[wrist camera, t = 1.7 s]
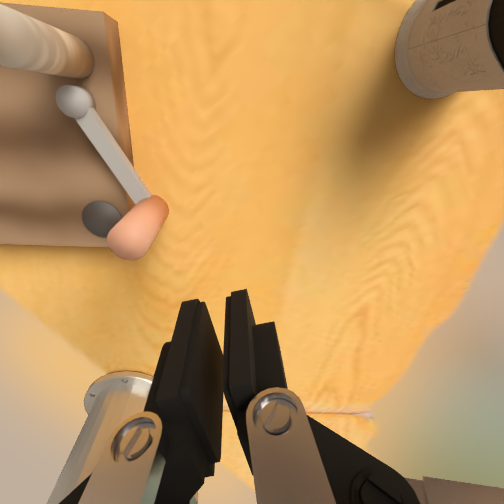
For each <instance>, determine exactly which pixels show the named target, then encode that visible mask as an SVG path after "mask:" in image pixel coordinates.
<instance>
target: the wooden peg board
mask: <svg viewBox="0 0 504 504" xmlns="http://www.w3.org/2000/svg"><path fill="white" fill-rule="evenodd" d="M64 85H73V86H81V87H84V88H86V89H87V90H88V91H89V92H90V93H91V94H92V95H93V97H94V99H95V103H96V107H95V111H96V112H97V114H98V115H99V117H100V118H101V120H102V121H103V123H104V124H105V126H106V127H107V129H108V130H109V131H110V133H111V134H112V136H113V137H114V139H115V140H116V142H117V143H118V145H119V146H120V148H121V149H122V151H123V152H124V154H125V155H126V157H127V158H128V160H129V161H130V163H131V164H132V166H133V167H134V164H133V155H132V146H131V137H130V128H129V119H128V110H127V101H126V92H125V83H124V74H123V65H122V56H121V47H120V38H119V29H118V22H117V21H115V20H114V19H113V18H111V17H110V16H108V15H107V14H106V13H104V12H100V11H89V10H77V9H66V8H54V7H43V6H31V5H20V4H9V3H0V244H16V245H48V246H79V247H109V246H108V243H107V236H108V233H109V231H110V230H111V229H112V228H113V227H114V226H115V225H116V224H117V223H118V222H119V221H120V220H121V219H122V218H123V217H124V216H125V215H126V214H127V213H128V212H129V211H130V210H131V209H132V208H133V207H134V206H135V205H136V204H135V203H134V202H133V200H132V199H131V197H130V196H129V195H128V193H127V192H126V190H125V189H124V187H123V186H122V185H121V183H120V182H119V180H118V179H117V178H116V176H115V175H114V173H113V172H112V171H111V169H110V168H109V166H108V165H107V163H106V162H105V161H104V159H103V158H102V156H101V155H100V154H99V152H98V151H97V149H96V148H95V147H94V145H93V144H92V142H91V141H90V140H89V138H88V137H87V135H86V134H85V132H84V131H83V130H82V128H81V127H80V125H79V124H78V123H77V121H76V120H75V118H72V117H69V116H67V115H65V114H64V113H63V112H62V111H61V110H60V109H59V107H58V105H57V103H56V92H57V90H58V89H59V88H60V87H61V86H64Z"/></svg>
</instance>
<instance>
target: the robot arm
mask: <svg viewBox="0 0 504 504" xmlns="http://www.w3.org/2000/svg"><path fill="white" fill-rule="evenodd" d="M223 391H224V395H225V398H226V401H227V404H228V406H229V409H230V412H231V415H232V417H233V420H234V423H235V426H236V428H237V435H238V437H239V440H240V443H241V445H242V448H243V451H244V454H245V456H246V459H247V462H248V465H249V467H250V470H251V473H252V475H253V476H254V484H255V491H256V499H257V504H504V488H498V487H491V486H485V485H478V484H471V483H465V482H457V481H451V480H444V479H438V478H431V477H424V476H423V479H422V480H416V479H409V478H404V477H403V476H401V475H400V474H399V473H398V472H396V471H395V470H394V469H392V468H391V467H389V466H388V465H386V464H384V463H383V462H381V461H380V460H378V459H376V458H375V457H373V456H372V455H370V454H368V453H367V452H365V451H364V450H362V449H361V448H359V447H357V446H356V445H354V444H353V443H351V442H349V441H348V440H346V439H345V438H343V437H341V436H340V435H338V434H337V433H335V432H333V431H332V430H330V429H329V428H327V427H325V426H324V425H322V424H321V423H319V422H317V421H316V420H314V419H313V418H311V417H309V416H308V415H306V412H305V409H304V406H303V404H302V402H301V400H300V398H299V397H298V396H297V395H296V394H295V393H294V392H292V391H290V390H288V389H287V383H286V378H285V372H284V367H283V362H282V356H281V351H280V346H279V342H278V337H277V332H276V328H275V323H274V322H269V323H263V324H258V325H256V324H255V320H254V316H253V312H252V308H251V304H250V300H249V296H248V292H247V289H244V290H239V291H234V292H231V296H229V297H226V309H225V331H224V353H223V354H222V351H221V348H220V345H219V342H218V339H217V336H216V333H215V330H214V327H213V324H212V321H211V318H210V315H209V312H208V309H207V306H206V304H205V302H200V301H199V299H194V300H189V301H184V302H182V304H181V307H180V311H179V314H178V318H177V322H176V326H175V329H174V333H173V337H172V340H171V342H166V343H165V344H164V345H163V347H162V350H161V354H160V357H159V361H158V364H157V367H156V371H155V374H154V377H152V376H150V375H147V374H143V373H139V372H130V371H122V372H114V373H110V374H107V375H104V376H102V377H100V378H99V379H97V380H96V381H94V382H93V383H92V384H91V386H90V387H89V389H88V391H87V393H86V395H85V398H84V406H85V410H86V412H87V413H88V417H87V420H86V422H85V424H84V426H83V428H82V430H81V432H80V434H79V436H78V438H77V441H76V443H75V445H74V447H73V449H72V451H71V454H70V455H69V458H68V460H67V462H66V464H65V466H64V468H63V470H62V472H61V474H60V477H59V479H58V481H57V483H56V485H55V488H54V489H53V491H52V494H51V496H50V498H49V500H48V502H47V504H197V503H198V490H199V489H200V488H201V486H202V485H203V484H204V478H205V477H209V476H214V468H215V463H216V462H220V459H221V439H222V414H223Z"/></svg>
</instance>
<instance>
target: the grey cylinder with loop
mask: <svg viewBox="0 0 504 504" xmlns="http://www.w3.org/2000/svg"><path fill="white" fill-rule="evenodd" d="M395 64H396V69H397V73H398V75H399V78H400V80H401V81H402V83H403V84H404V86H405V87H406V88H407V89H408V90H409V91H410V92H411V93H413V94H415V95H417V96H419V97H422V98H429V99H434V98H441V97H445V96H448V95H450V94H452V93H454V92H461V91H477V90H494V89H504V0H416V1H415V2H414V4H413V5H412V6H411V8H410V9H409V10H408V12H407V14H406V16H405V18H404V19H403V21H402V24H401V26H400V29H399V32H398V36H397V40H396V46H395Z"/></svg>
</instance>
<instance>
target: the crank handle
mask: <svg viewBox="0 0 504 504" xmlns="http://www.w3.org/2000/svg"><path fill="white" fill-rule="evenodd" d="M56 103H57V105H58V107H59V109H60V110H61V111H62V112H63V113H64V114H65V115H67V116H69V117H72V118H75V120H76V121H77V123H78V124H79V125H80V127H81V128H82V130H83V131H84V132H85V134H86V135H87V137H88V138H89V140H90V141H91V142H92V144H93V145H94V147H95V148H96V149H97V151H98V152H99V154H100V155H101V156H102V158H103V159H104V161H105V162H106V163H107V165H108V166H109V168H110V169H111V171H112V172H113V173H114V175H115V176H116V178H117V179H118V180H119V182H120V183H121V185H122V186H123V187H124V189H125V190H126V192H127V193H128V195H129V196H130V197H131V199H132V200H133V202H134V203H135V204H136V205H135V206H134V207H133V208H132V209H131V210H130V211H129V212H128V213H127V214H126V215H125V216H124V217H123V218H122V219H121V220H120V221H119V222H118V223H117V224H116V225H115V226H114V227H113V228H112V229H111V230H110V231H109V233H108V236H107V243H108V246H109V248H110V250H111V251H112V252H113V253H114V254H115V255H116V256H118V257H120V258H122V259H125V260H136V259H139V258H141V257H142V256H144V255H145V253H146V252H147V250H148V248H149V247H150V245H151V243H152V242H153V240H154V239H155V237H156V235H157V234H158V232H159V230H160V229H161V227H162V225H163V224H164V222H165V220H166V219H167V217H168V214H169V208H168V205H167V203H166V202H165V201H164V200H163V199H162V198H160V197H158V196H156V195H152V194H151V193H150V191H149V190H148V188H147V187H146V185H145V184H144V182H143V181H142V179H141V178H140V176H139V175H138V173H137V172H136V170H135V169H134V167H133V166H132V164H131V163H130V161H129V160H128V158H127V157H126V155H125V154H124V152H123V151H122V149H121V148H120V146H119V145H118V143H117V142H116V140H115V139H114V137H113V136H112V134H111V133H110V131H109V130H108V129H107V127H106V126H105V124H104V123H103V121H102V120H101V118H100V117H99V115H98V114H97V112H96V111H95V107H96V103H95V99H94V97H93V95H92V94H91V93H90V92H89V91H88V90H87V89H86V88H84V87H81V86H73V85H64V86H61V87H60V88H59V89H58V90H57V92H56Z"/></svg>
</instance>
